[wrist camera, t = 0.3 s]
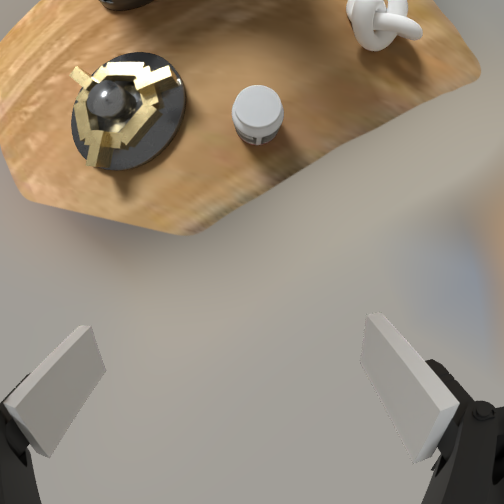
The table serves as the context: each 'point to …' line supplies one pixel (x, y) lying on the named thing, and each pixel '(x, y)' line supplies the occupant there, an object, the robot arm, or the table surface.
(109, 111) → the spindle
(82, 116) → the taped hex socket base
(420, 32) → the white knot sculpture
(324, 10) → the table surface
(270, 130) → the pill bottle
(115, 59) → the hub plate
